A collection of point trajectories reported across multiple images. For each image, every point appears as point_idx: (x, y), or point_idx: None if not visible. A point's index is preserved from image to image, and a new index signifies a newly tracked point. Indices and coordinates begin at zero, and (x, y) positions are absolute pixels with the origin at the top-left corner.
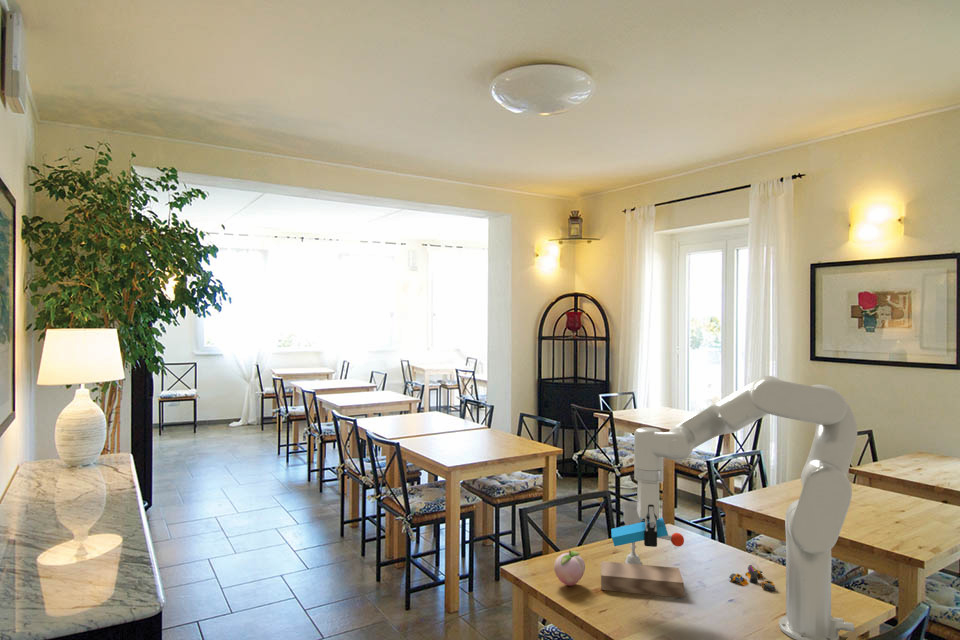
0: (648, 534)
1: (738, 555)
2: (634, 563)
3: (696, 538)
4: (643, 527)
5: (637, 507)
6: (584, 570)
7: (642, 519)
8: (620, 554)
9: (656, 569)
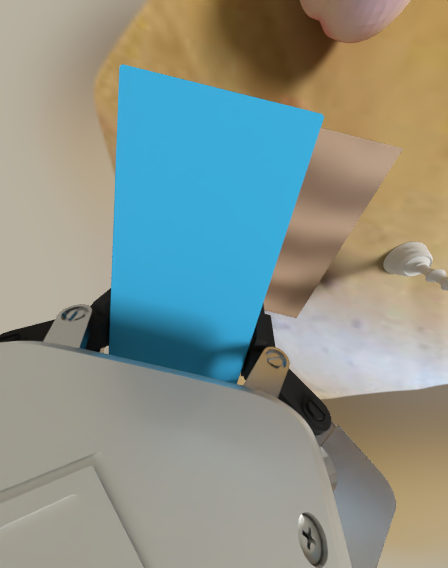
0: (93, 305)
1: (349, 390)
2: (391, 258)
3: (437, 381)
4: (161, 316)
5: (190, 445)
6: (336, 36)
7: (262, 352)
8: None
9: (299, 282)
